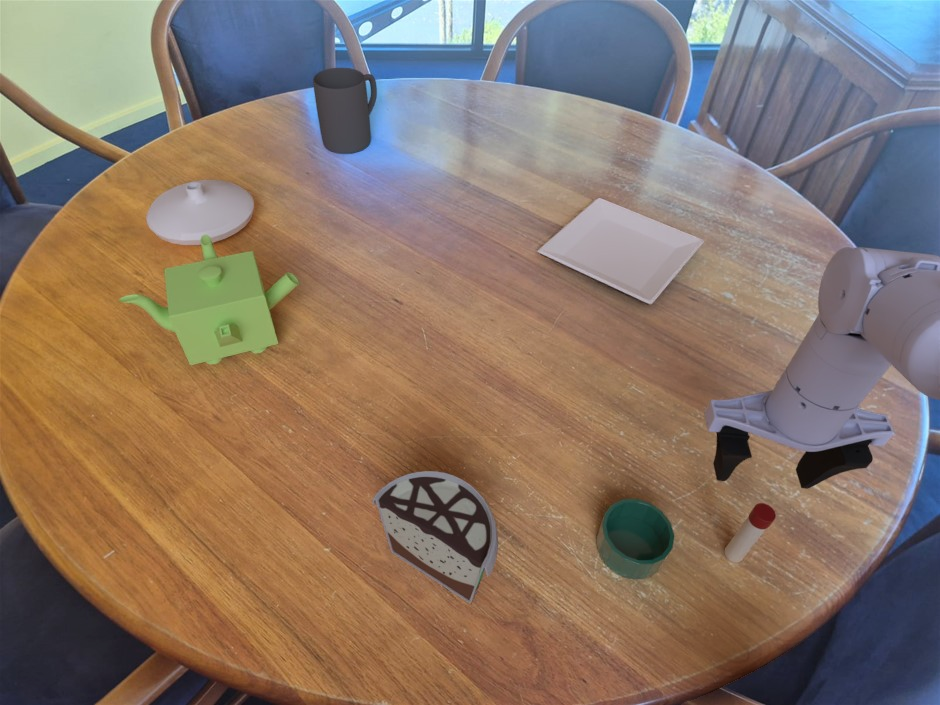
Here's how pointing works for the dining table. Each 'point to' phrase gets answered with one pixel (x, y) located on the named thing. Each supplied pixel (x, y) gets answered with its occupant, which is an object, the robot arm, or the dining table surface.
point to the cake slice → (440, 529)
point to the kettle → (218, 305)
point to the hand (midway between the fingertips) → (760, 475)
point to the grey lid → (200, 212)
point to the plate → (622, 249)
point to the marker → (750, 532)
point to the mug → (344, 108)
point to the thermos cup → (634, 538)
